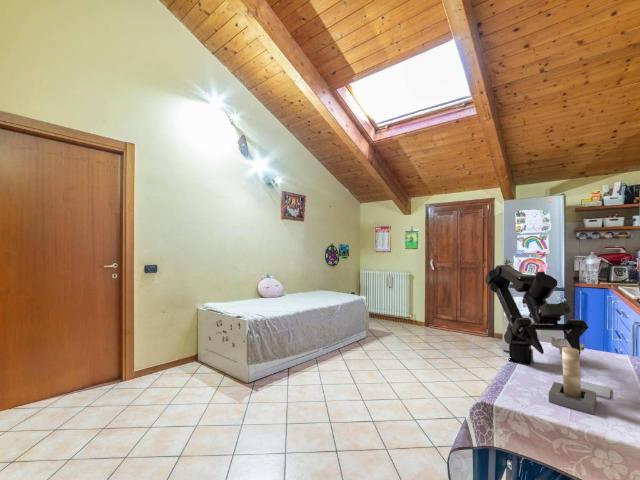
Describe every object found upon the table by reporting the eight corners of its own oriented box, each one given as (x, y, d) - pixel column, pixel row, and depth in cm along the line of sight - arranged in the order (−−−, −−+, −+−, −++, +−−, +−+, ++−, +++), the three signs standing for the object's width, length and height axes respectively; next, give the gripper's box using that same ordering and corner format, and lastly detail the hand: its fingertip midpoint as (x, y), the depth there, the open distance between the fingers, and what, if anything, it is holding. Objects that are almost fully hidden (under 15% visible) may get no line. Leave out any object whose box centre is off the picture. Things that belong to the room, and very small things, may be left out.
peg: (563, 401, 81) (561, 349, 82) (565, 397, 84) (562, 346, 84) (580, 406, 79) (578, 352, 79) (582, 401, 81) (579, 349, 81)
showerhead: (557, 334, 117) (589, 341, 108) (557, 353, 117) (590, 361, 108) (543, 338, 112) (576, 346, 104) (544, 358, 112) (577, 367, 103)
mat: (571, 390, 87) (571, 388, 87) (574, 381, 93) (574, 379, 93) (609, 399, 82) (609, 397, 82) (610, 389, 87) (610, 387, 87)
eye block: (548, 402, 81) (548, 392, 81) (554, 390, 88) (554, 381, 88) (593, 414, 75) (593, 404, 75) (596, 401, 81) (595, 391, 81)
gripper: (513, 292, 93) (533, 338, 82) (582, 292, 90) (613, 341, 79) (504, 312, 101) (521, 357, 90) (567, 313, 97) (593, 360, 86)
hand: (560, 353), depth 86 cm, fingers open, 9 cm apart
